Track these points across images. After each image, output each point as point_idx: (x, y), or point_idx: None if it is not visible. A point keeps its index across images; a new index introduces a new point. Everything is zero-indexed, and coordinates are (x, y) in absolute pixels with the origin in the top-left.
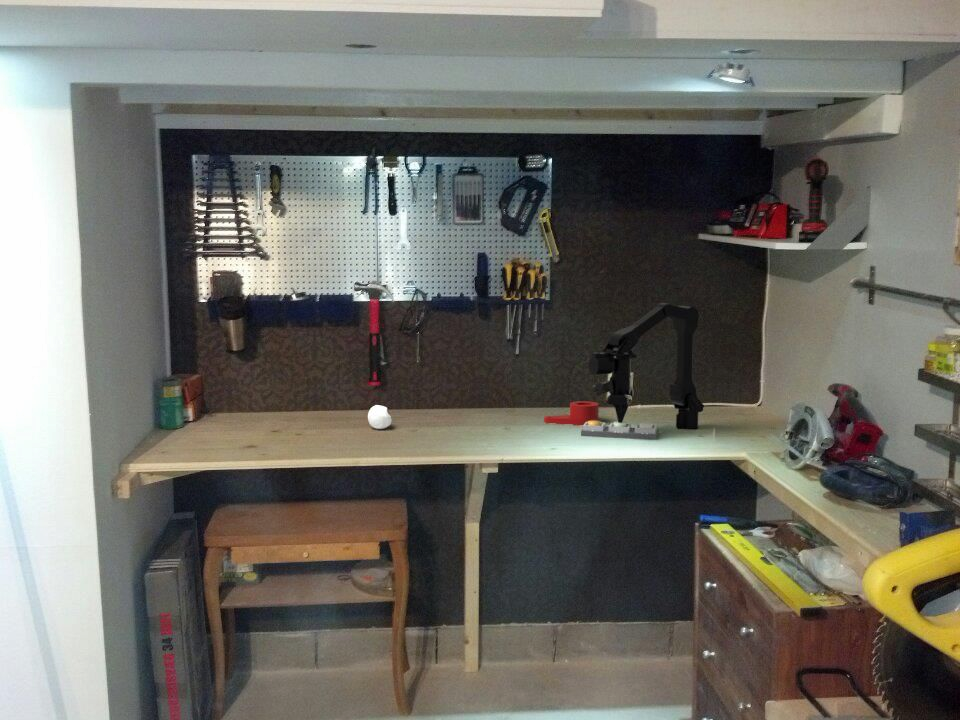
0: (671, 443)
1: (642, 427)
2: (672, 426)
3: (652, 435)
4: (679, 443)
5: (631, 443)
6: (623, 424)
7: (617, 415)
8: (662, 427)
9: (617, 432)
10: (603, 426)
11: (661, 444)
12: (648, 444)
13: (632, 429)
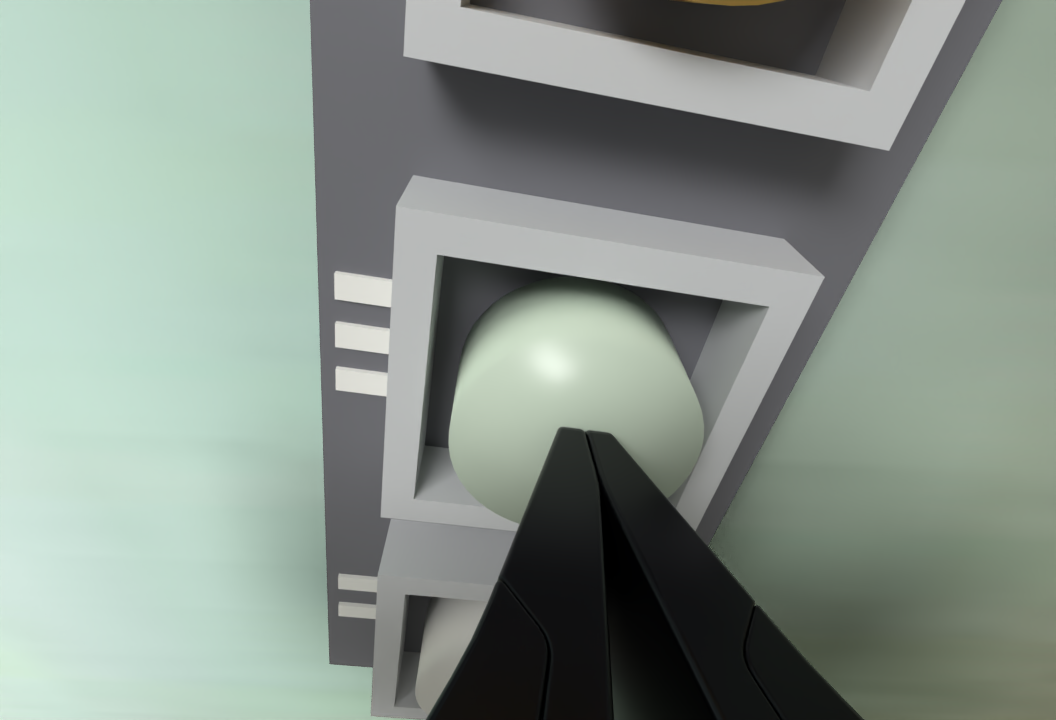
0: (231, 684)
1: (433, 638)
2: (914, 715)
3: (329, 635)
4: (254, 716)
5: (45, 428)
6: (467, 481)
7: (520, 535)
8: (898, 670)
9: (332, 323)
10: (521, 75)
11: (152, 635)
12: (92, 560)
13: None
